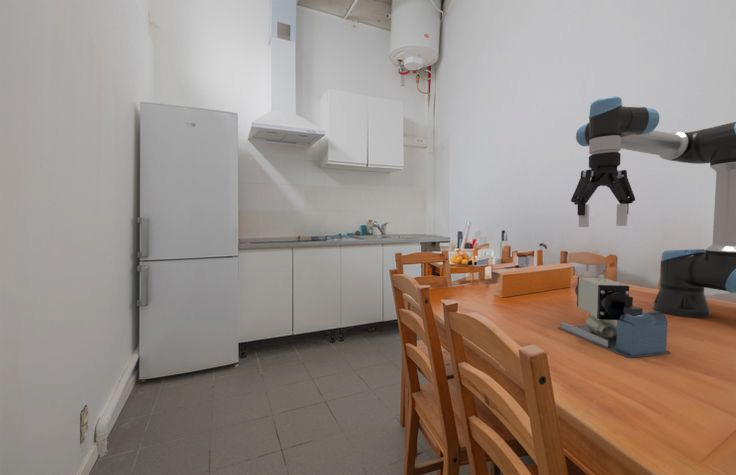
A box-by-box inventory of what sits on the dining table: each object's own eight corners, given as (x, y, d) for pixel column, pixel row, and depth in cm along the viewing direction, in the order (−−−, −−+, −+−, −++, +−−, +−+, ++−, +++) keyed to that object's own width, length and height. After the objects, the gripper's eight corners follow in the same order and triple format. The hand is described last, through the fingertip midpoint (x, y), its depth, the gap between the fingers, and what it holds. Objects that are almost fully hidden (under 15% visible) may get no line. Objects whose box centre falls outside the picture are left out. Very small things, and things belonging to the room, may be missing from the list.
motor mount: (592, 325, 107) (593, 288, 106) (670, 353, 84) (672, 307, 84) (558, 328, 104) (558, 291, 104) (628, 358, 82) (630, 310, 81)
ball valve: (637, 347, 87) (640, 281, 86) (602, 345, 89) (604, 280, 88) (602, 325, 105) (603, 270, 104) (573, 324, 107) (574, 270, 106)
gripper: (626, 156, 102) (624, 225, 103) (557, 155, 97) (556, 227, 98) (651, 151, 95) (649, 225, 96) (579, 149, 89) (578, 227, 91)
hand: (602, 226), depth 97 cm, fingers open, 13 cm apart
